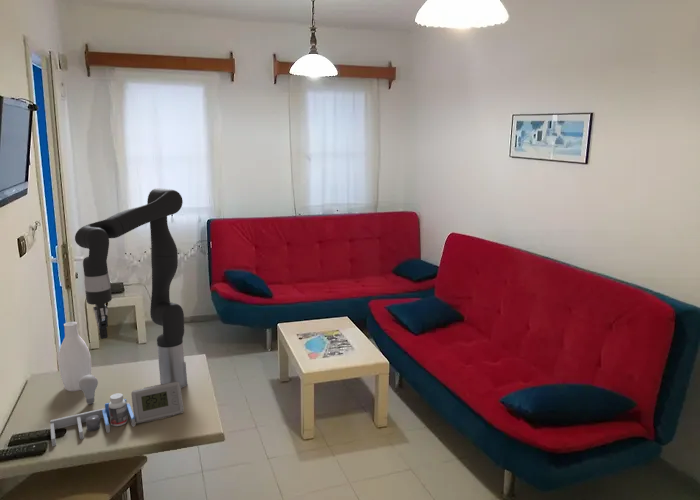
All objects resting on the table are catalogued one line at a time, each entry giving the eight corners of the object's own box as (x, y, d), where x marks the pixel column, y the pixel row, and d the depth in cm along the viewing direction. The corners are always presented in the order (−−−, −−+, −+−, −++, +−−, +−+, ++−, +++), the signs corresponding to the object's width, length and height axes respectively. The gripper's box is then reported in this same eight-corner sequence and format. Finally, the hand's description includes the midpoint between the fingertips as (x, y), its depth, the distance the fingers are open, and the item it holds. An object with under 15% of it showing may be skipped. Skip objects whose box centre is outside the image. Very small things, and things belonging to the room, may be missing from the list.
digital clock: (132, 425, 182) (129, 396, 180) (135, 412, 190) (132, 384, 188) (183, 418, 186) (181, 389, 184) (183, 406, 195) (181, 378, 192)
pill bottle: (107, 423, 184) (104, 396, 182) (123, 416, 188) (120, 390, 185) (115, 428, 180) (112, 401, 178) (130, 422, 184) (128, 395, 182)
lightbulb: (92, 408, 193) (89, 379, 191) (77, 407, 194) (74, 378, 192) (103, 400, 199) (100, 372, 197) (88, 399, 200) (85, 371, 198)
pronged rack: (129, 410, 192) (128, 397, 191) (135, 425, 182) (134, 411, 181) (51, 428, 180) (49, 414, 179) (52, 446, 170) (50, 431, 169)
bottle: (62, 395, 203) (54, 330, 198) (60, 384, 212) (52, 321, 207) (95, 388, 209) (88, 325, 203) (92, 377, 218) (85, 316, 213)
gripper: (113, 290, 174) (119, 341, 178) (107, 281, 185) (113, 329, 189) (87, 294, 171) (93, 346, 174) (83, 284, 182) (89, 333, 186)
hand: (103, 337), depth 182 cm, fingers closed
